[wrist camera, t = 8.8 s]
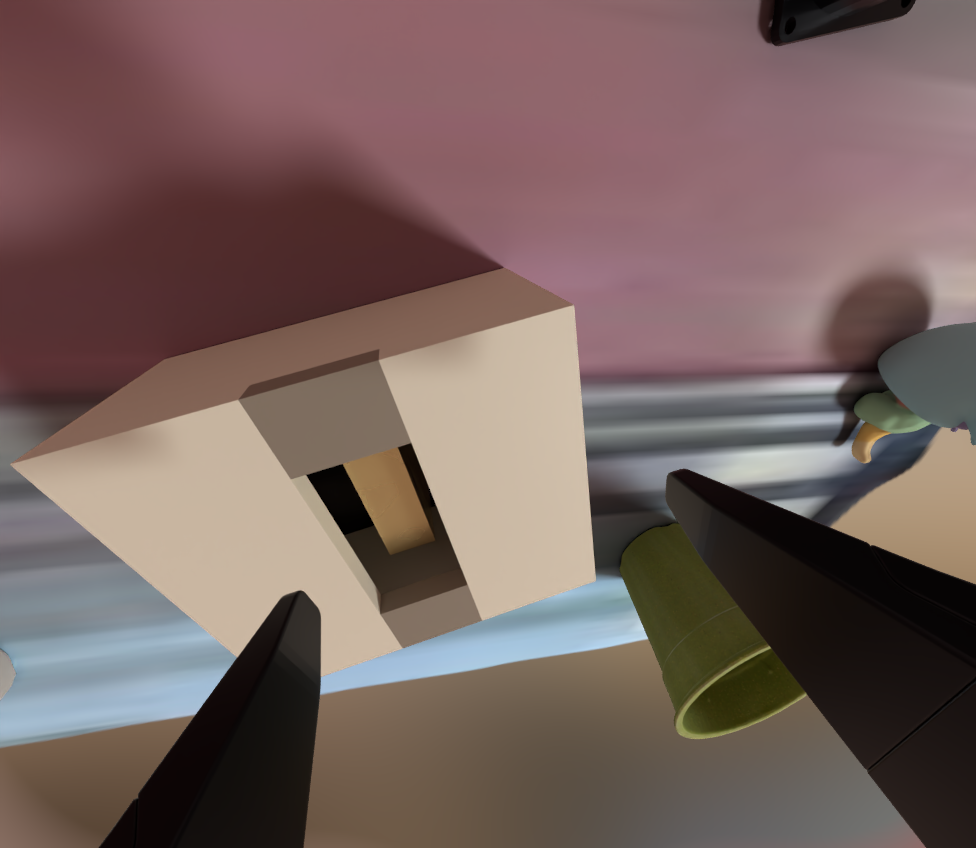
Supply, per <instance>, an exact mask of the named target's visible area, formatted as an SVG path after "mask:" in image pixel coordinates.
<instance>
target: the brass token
mask: <svg viewBox="0 0 976 848" xmlns="http://www.w3.org/2000/svg"><path fill="white" fill-rule="evenodd" d="M343 465H344V467H345V469H346V471H347V473H348V475H349V477H350V479H351V481H352V483H353V485H354V487H355V489H356V490H357V492H358V494H359V496H360V498H361V500H362V502H363V504H364V506H365V508H366V510H367V512H368V513H369V515H370V517H371V519H372V521H373V523H374V525H375V527H376V529H377V531H378V533H379V535H380V536H381V538H382V540H383V542H384V544H385V546H386V548H387V550H388V552H389V554H390V555H392V554H395V553H399V552H402V551H405V550H408V549H411V548H414V547H417V546H421V545H424V544H427V543H430V542H433V541H435V533H434V526H433V519H432V511H431V504H430V497H429V489H428V483H427V481H426V478H425V476H424V473H423V471H422V468H421V466H420V463H419V461H418V458H417V456H416V453H415V451H414V448H413V445H412V443H410V444H406V445H403V446H400V447H396V448H393V449H390V450H387V451H383V452H380V453H377V454H373V455H370V456H367V457H363V458H360V459H357V460H354V461H350V462H347V463H344V464H343Z"/></svg>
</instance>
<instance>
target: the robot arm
mask: <svg viewBox="0 0 976 848" xmlns="http://www.w3.org/2000/svg"><path fill="white" fill-rule="evenodd" d="M915 1H916V0H776V1H775V8H774V15H773V21H772V28H771V41H772V43H773V44H774V45H775V46H782V45H786V44H790V43H795V42H799V41H803V40H808V39H812V38H816V37H821V36H825V35H829V34H833V33H838V32H842V31H846V30H851V29H855V28H859V27H864V26H868V25H872V24H876V23H881V22H885V21H889V20H893V19H895V18H898V17H901V16H903V15H905V14H907V13H908V12H909V11H910V10H911V8H912V7H913V5H914V3H915ZM786 23H787V31H786V33H785V25H786ZM665 498H666V502H667V504H668V506H669V508H670V510H671V511H672V513H673V514H674V516H675V518H676V519H677V521H678V522H679V524H680V526H681V527H682V529H683V530H684V532H685V534H686V535H687V537H688V538H689V540H690V542H691V543H692V545H693V546H694V548H695V549H696V551H697V553H698V554H699V556H700V557H701V559H702V560H703V561H704V563H705V564H706V565H707V567H708V568H709V569H710V571H711V572H712V573H713V575H714V576H715V577H716V578H717V580H718V581H719V582H720V584H721V585H722V586H723V587H724V589H725V590H726V591H727V593H728V594H729V595H730V596H731V598H732V599H733V600H734V602H735V603H736V604H737V605H738V607H739V608H740V609H741V611H742V612H743V613H744V614H745V616H746V617H747V618H748V619H749V621H750V622H751V623H752V625H753V626H754V627H755V628H756V630H757V631H758V632H759V634H760V635H761V636H762V637H763V639H764V640H765V641H766V643H767V644H768V645H769V646H770V648H771V649H772V650H773V652H774V653H775V654H776V655H777V657H778V658H779V659H780V661H781V662H782V663H783V664H784V666H785V667H786V668H787V669H788V671H789V672H790V673H791V675H792V676H793V677H794V678H795V680H796V681H797V682H798V684H799V685H800V686H801V687H802V689H803V690H804V691H805V693H806V694H807V695H808V696H809V698H810V699H811V700H812V701H813V703H814V704H815V705H816V707H817V708H818V709H819V710H820V712H821V713H822V714H823V716H824V717H825V718H826V720H827V721H828V722H829V723H830V725H831V726H832V727H833V728H834V730H835V731H836V732H837V734H838V735H839V736H840V737H841V739H842V740H843V741H844V742H845V744H846V745H847V746H848V748H849V749H850V750H851V751H852V753H853V754H854V755H855V757H856V758H857V759H858V760H859V762H860V763H861V764H862V766H863V767H864V768H865V769H867V772H868V774H869V775H870V776H871V778H872V779H873V780H874V781H875V783H876V784H877V785H878V787H879V788H880V789H881V790H882V792H883V793H884V794H885V796H886V797H887V798H888V799H889V801H890V802H891V803H892V805H893V806H894V807H895V808H896V810H897V811H898V812H899V814H900V815H901V816H902V817H903V819H904V820H905V821H906V823H907V824H908V825H909V826H910V828H911V829H912V830H913V831H914V833H915V834H916V835H917V836H918V838H919V839H920V840H921V842H922V843H923V844H924V845H925V847H926V848H976V584H973V583H970V582H968V581H965V580H962V579H959V578H956V577H954V576H951V575H948V574H945V573H943V572H940V571H937V570H935V569H932V568H930V567H927V566H925V565H922V564H919V563H917V562H914V561H912V560H909V559H907V558H904V557H902V556H899V555H897V554H894V553H891V552H889V551H887V550H884V549H882V548H879V547H877V546H874V545H871V546H870V545H869V544H868V543H867V542H864V541H862V540H859V539H857V538H855V537H852V536H849V535H847V534H845V533H842V532H840V531H837V530H835V529H833V528H830V527H828V526H825V525H823V524H820V523H818V522H815V521H813V520H810V519H808V518H806V517H803V516H801V515H798V514H796V513H793V512H791V511H788V510H786V509H784V508H781V507H779V506H776V505H774V504H771V503H769V502H766V501H764V500H761V499H759V498H757V497H754V496H752V495H749V494H747V493H744V492H742V491H739V490H737V489H735V488H732V487H730V486H727V485H725V484H722V483H720V482H717V481H715V480H712V479H710V478H708V477H705V476H703V475H700V474H698V473H695V472H693V471H690V470H688V469H680V470H676V471H673V472H670V473H669V474H668V475H667V480H666V493H665ZM320 686H321V614H320V611H319V609H318V607H317V606H316V605H315V604H314V602H313V601H312V600H311V599H310V598H309V596H308V595H307V594H306V593H305V592H304V591H302V590H298V591H295V592H292V593H289V594H286V595H284V596H282V597H281V598H280V600H279V601H278V602H277V604H276V605H275V606H274V608H273V609H272V611H271V612H270V613H269V615H268V616H267V617H266V619H265V620H264V622H263V623H262V624H261V626H260V627H259V628H258V630H257V631H256V633H255V634H254V635H253V637H252V638H251V639H250V641H249V642H248V643H247V645H246V646H245V648H244V649H243V650H242V652H241V653H240V654H239V656H238V657H237V659H236V660H235V661H234V663H233V664H232V665H231V667H230V668H229V670H228V671H227V672H226V674H225V675H224V676H223V678H222V679H221V681H220V682H219V683H218V685H217V686H216V687H215V689H214V690H213V692H212V693H211V694H210V696H209V697H208V698H207V700H206V701H205V703H204V704H203V705H202V707H201V708H200V709H199V711H198V712H197V714H196V715H195V716H194V718H193V719H192V721H191V722H190V723H189V725H188V726H187V727H186V729H185V730H184V731H183V733H182V734H181V736H180V737H179V739H178V740H177V741H176V742H175V744H174V745H173V747H172V748H171V749H170V751H169V752H168V753H167V755H166V756H165V758H164V759H163V760H162V762H161V763H160V764H159V766H158V767H157V769H156V770H155V771H154V773H153V774H152V775H151V777H150V778H149V780H148V781H147V782H146V784H145V785H144V786H143V788H142V789H141V791H140V792H139V794H138V798H136V799H134V800H133V801H132V803H131V804H130V805H129V807H128V808H127V810H126V811H125V812H124V814H123V815H122V816H121V818H120V819H119V821H118V822H117V823H116V825H115V826H114V827H113V829H112V830H111V832H110V833H109V834H108V836H107V837H106V838H105V840H104V841H103V842H102V844H101V845H100V846H99V848H304V839H305V829H306V820H307V810H308V801H309V792H310V783H311V774H312V764H313V755H314V745H315V736H316V727H317V718H318V709H319V699H320Z"/></svg>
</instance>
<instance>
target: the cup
mask: <svg viewBox="0 0 976 848" xmlns="http://www.w3.org/2000/svg"><path fill="white" fill-rule="evenodd" d="M15 675H16V672H15V670H14V667H13V665H12V662H11V660H10V658H9V656H8V655H7V654H6V653H5V652H4V651H2V650H1V649H0V700H1V699H2V697H3V696H4V695H5V694H6V692H7V691H8V690H9V688H10V687H11V686H12V683H13V681H14V678H15Z"/></svg>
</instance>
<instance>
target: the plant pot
mask: <svg viewBox="0 0 976 848" xmlns="http://www.w3.org/2000/svg"><path fill="white" fill-rule="evenodd" d="M619 570H620V573H621V576H622V578H623V580H624V583H625V585H626V587H627V590H628V592H629V595H630V597H631V599H632V601H633V604H634V606H635V608H636V611H637V613H638V615H639V618H640V620H641V623H642V625H643V627H644V630H645V632H646V634H647V637H648V639H649V641H650V643H651V645H652V648H653V650H654V653H655V655H656V658H657V660H658V662H659V665H660V667H661V670H662V673H663V674H662V675H663V681H664V684H665V686H666V688H667V691H668V693H669V696H670V698H671V701H672V703H673V706H674V709H675V711H676V713H675V717H674V726H675V728H676V731H677V732H678V733H679V734H680V735H681V736H684V737H687V738H692V739H704V738H711V737H717V736H721V735H724V734H728V733H732V732H735V731H738V730H741V729H743V728H746V727H748V726H751V725H753V724H755V723H758V722H760V721H763V720H765V719H767V718H769V717H770V716H773V715H774V714H776V713H778V712H780V711H782V710H784V709H785V708H787V707H788V706H790V705H792V704H794V703H795V702H797V701H798V700H800V699H802V698H803V697H805V696H806V695H807V694H806V693H805V691H804V690H803V689H802V687H801V686H800V685H799V684H798V682H797V681H796V680H795V678H794V677H793V676H792V675H791V673H790V672H789V671H788V669H787V668H786V667H785V666H784V664H783V663H782V662H781V661H780V659H779V658H778V657H777V655H776V654H775V653H774V652H773V650H772V649H771V648H770V646H769V645H768V644H767V643H766V641H765V640H764V639H763V637H762V636H761V635H760V634H759V632H758V631H757V630H756V628H755V627H754V626H753V625H752V623H751V622H750V621H749V619H748V618H747V617H746V616H745V614H744V613H743V612H742V611H741V609H740V608H739V607H738V605H737V604H736V603H735V602H734V600H733V599H732V598H731V596H730V595H729V594H728V593H727V591H726V590H725V589H724V587H723V586H722V585H721V584H720V582H719V581H718V580H717V578H716V577H715V576H714V575H713V573H712V572H711V571H710V569H709V568H708V567H707V565H706V564H705V563H704V561H703V560H702V559H701V557H700V556H699V554H698V553H697V551H696V549H695V548H694V546H693V545H692V543H691V542H690V540H689V538H688V537H687V535H686V534H685V532H684V530H683V529H682V527H681V526H680V524H677V523H672V524H671V525H669V526H666V527H655V528H652V529H650V530H648V531H646V532H645V533H643V534H641V535H640V536H639V537H637V538H636V539H635V540H634V541H633V542H632V543H631V544H630V545H629V546H628V547H627V548H626V550H625V551H624V553H623V555H622V560H621V566H620V568H619Z"/></svg>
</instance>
